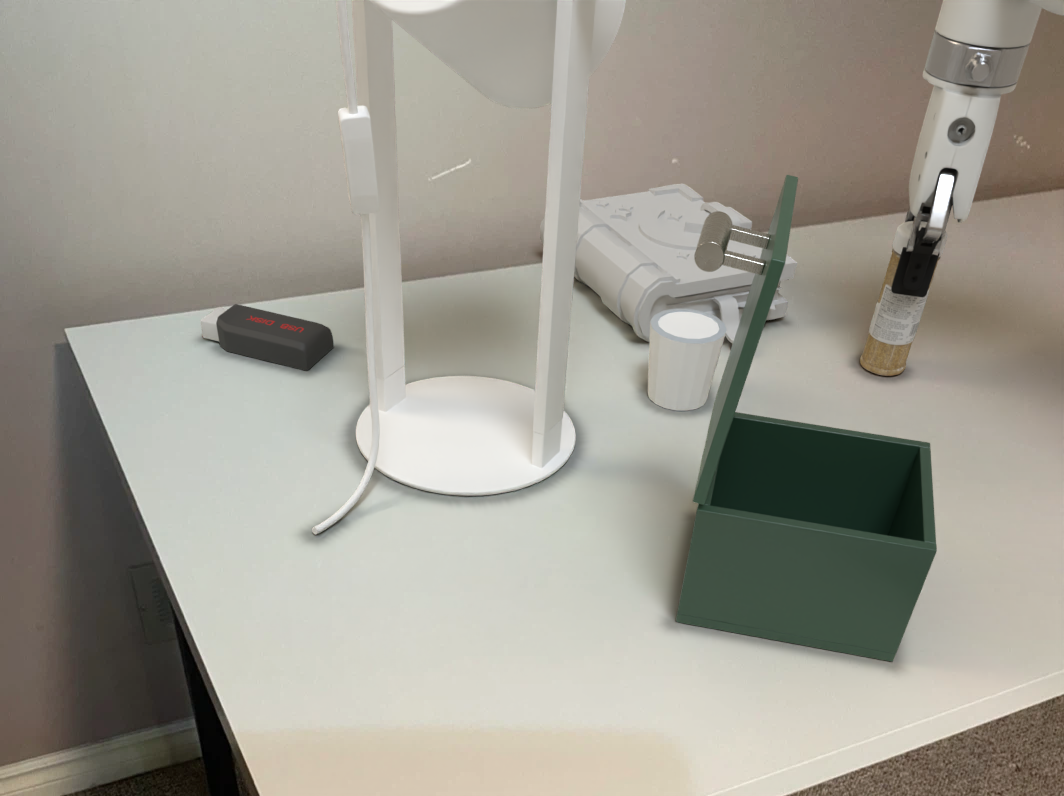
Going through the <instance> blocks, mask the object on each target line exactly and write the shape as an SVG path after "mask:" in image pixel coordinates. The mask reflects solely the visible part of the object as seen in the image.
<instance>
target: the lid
mask: <svg viewBox="0 0 1064 796" xmlns="http://www.w3.org/2000/svg"><path fill="white" fill-rule="evenodd" d="M798 183H799V177H798V176H795V175H790V174H786V175H785V177H784V181H783V184H782V187H781V191H780V193H779V196H778V200H777V203H776V206H775V209H774V213H773V215H772V219H771V223H770V225H769V228H768V231H767V233H766V232H762V231H759V230H755V229H752V228H751V229H747V228H743V227H739V226H735V225H732V220H731V218H730V217H729V215H727V214H726V213H724V212H721V211H716V212H713V213H711V214H709V215H708V216H707V218H706V219H705V221H704V224H703V228H702V231H701V234H700V238H699V241H698V244H697V247H696V251H695V254H694V260H695V263H696V265H697V267H698V268H699V269H701V270H702V271H705V272H713V271H716V270H717V269H719V268H720V267H721V266H722V265H723V266H727V267H731V268H735V269H739V270H743V271H747V272H751V273H755V275H754V278H753V282H752V285H751V288H750V291H749V294H748V297H747V300H746V304H745V307H744V310H743V313H742V316H741V319H740V321H739V326H738V329H737V332H736V335H735V338H734V341H733V344H731V348H730V351H729V355H728V358H727V361H726V363H725V367H724V371H723V374H722V376H721V380H720V382H719V386H718V389H717V392H716V396H715V398H714V401H713V405H712V411H711V415H710V419H709V425H708V429H707V434H706V439H705V443H704V448H703V453H702V456H701V461H700V464H699V465H700V466H699V469H698V475H697V479H696V483H695V488H694V494H693V496H692V497H693V498H692V503H694V504H697V505H698V504H702V505H704V504H705V501H706V498H707V495H708V492H709V489H710V486H711V483H712V480H713V477H714V474H715V471H716V468H717V465H718V462H719V459H720V456H721V453H722V450H723V447H724V444H725V441H726V438H727V435H728V432H729V429H730V426H731V423H732V420H733V417H734V414H735V412H737V409H738V406H739V403H740V399H741V395H742V393H743V391H744V388H745V385H746V381H747V380H748V379H747V378H748V375H749V373H750V369H751V367H752V365H753V364H752V363H753V360H754V358H755V354H756V353H757V348H758V346H759V342H760V340H761V337H762V334H763V331H764V327H765V326H766V325H765V324H766V321H767V320H766V319H767V316H768V313H769V310H770V307H771V304H772V301H773V298H774V295H775V292H776V289H777V286H778V283H779V280H780V277H781V274H782V271H783V268H784V265H785V261H786V255H788V254H787V253H788V248H789V241H790V237H791V236H790V235H791V229H792V222H793V215H794V209H795V203H796V196H797V190H798ZM729 240H732V241H736V242H740V243H744V244H747V245H751V246H755V247H759V248H763V250H762V253H761V256H760V259H759V258H755V257H751V256H747V255H743V254H739V253H735V252H732V251H728V250H727V247H728V243H729Z"/></svg>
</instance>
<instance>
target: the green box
mask: <svg viewBox="0 0 1064 796" xmlns="http://www.w3.org/2000/svg"><path fill="white" fill-rule="evenodd" d="M931 450H932V449H931V442H928V441H921V440H915V439H909V438H902V437H897V436H889V435H883V434H877V433H871V432H865V431H858V430H851V429H845V428H839V427H833V426H827V425H819V424H814V423H807V422H803V421H801V422H800V421H794V420H788V419H782V418H775V417H770V416H764V415H763V416H762V415H757V414H751V413H743V412H738V411H735V414H734V417H733V420H732V423H731V426H730V429H729V432H728V435H727V438H726V441H725V444H724V447H723V450H722V453H721V456H720V459H719V462H718V465H717V468H716V471H715V474H714V477H713V480H712V483H711V486H710V489H709V492H708V495H707V498H706V501H705V504H704V505H702V504H698V503H697V508H696V512H695V516H694V517H695V518H694V523H693V528H692V533H691V539H690V545H689V550H688V555H687V558H686V559H687V560H686V566H685V569H684V577H683V581H682V586H681V592H680V597H679V602H678V607H677V612H676V617H675V622H676V623H680V624H686V625H690V626H695V627H702V628H707V629H713V630H718V631H723V632H728V633H734V634H740V635H745V636H750V637H756V638H761V639H766V640H772V641H778V642H782V643H783V642H784V643H788V644H795V645H798V646H799V645H800V646H805V647H811V648H817V649H820V650H821V649H822V650H826V651H833V652H838V653H843V654H848V655H854V656H860V657H864V658H871V659H876V660H880V661H885V662H886V661H887V662H892V663H893V662H894V660H895V658H896V655H897V652H898V650H899V648H900V645H901V642H902V640H903V638H904V635H905V633H906V630H907V627H908V625H909V623H910V620H911V617H912V615H913V612H914V609H915V607H916V605H917V602H918V600H919V597H920V594H921V592H922V590H923V587H924V586H925V585H924V584H925V582H926V580H927V577H928V574H929V572H930V570H931V567H932V565H933V562H934V559H935V556H936V554H937V552H938V547H937V535H936V533H937V531H936V517H935V516H936V515H935V502H934V500H935V499H934V487H933V468H932V465H933V464H932V451H931Z"/></svg>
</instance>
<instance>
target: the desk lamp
mask: <svg viewBox="0 0 1064 796" xmlns="http://www.w3.org/2000/svg"><path fill="white" fill-rule="evenodd" d="M626 2H627V0H351V15H352V29H353V30H352V31H353V48H354V64H353V57H352V48H351V47H352V46H351V39H350V27H349V17H348V16H349V15H348V6H347V5H348V4H347V0H335V8H336V18H337V19H336V20H337V28H338V38H339V48H340V56H341V63H342V64H341V65H342V73H343V81H344V88H345V96H346V102H347V107H340V108H339V109H338V111H337V118H338V119H337V120H338V128H339V134H340V135H339V137H340V143H341V150H342V159H343V166H344V174H345V181H346V187H347V196H348V203H349V207H350V210H351V214H352V215H354V216H359V218H360V229H361V244H362V265H363V269H362V270H363V284H364V285H363V288H364V289H363V291H364V293H363V294H364V320H365V321H364V322H365V345H366V347H365V348H366V366H367V381H368V382H367V383H368V396H369V397H368V398H369V404H368V405H367V406H366V407H365V408H364V409H363V411H362V412H361V413H360V415H359V417H358V419H357V422H356V426H355V440H356V444H357V447H358V449H359V451H360V453H361V454H362V456H363V457H364V458H365V460H366V461H367V464H366V467H365V470H364V472H363V475H362V478H361V480H360V482H359V483H358V485H357V487H356V489H355V490H354V492H352V494H351V496H350V497H349V498H348V500H347V501H346V502H345V503H344V504H343V505H342V506H340V508H339V509H338V510H337V511H335V512H334V513H333V514H332V515H330V516H329V517H328V518H326V519H325V520H323V521H322V522H320V523H318V524H316V525H315V526H312V528H311V531H312V533H313V535H318V534H320V533H322V532H324V531H326V530H328V528H330V527H332V526H333V525H334V524H337V522H338V521H340V520H341V519H342V518H343V517H344V516H345V515H346V514H347V513H348V512H350V510H351V509H352V508H353V507H354V506H355V505H356V503H357V502H358V501H359V500H360V498H361V497H362V496H363V494H364V492H365V490H366V489H367V487H368V486H369V485H368V484H369V483H370V481H371V478H372V476H373V473H374V470H375V469H376V470H377V471H378V472H380V473H381V474H383V475H384V476H386V477H388V478H390V479H391V480H394V481H396V482H398V483H400V484H402V485H404V486H408V487H411V488H414V489H417V490H420V491H425V492H430V493H435V494H440V495H447V496H460V497H461V496H464V497H465V496H466V497H469V496H470V497H471V496H473V497H475V496H477V497H478V496H491V495H498V494H504V493H509V492H513V491H518V490H521V489H524V488H528V487H531V486H533V485H535V484H538V483H539V482H542V481H544V480H546V479H548V478H549V477H551V476H552V475H554V474H555V473H557V471H559V470H560V469H561V468H562V467H563V466H564V465H565V464H566V463H567V462H568V460H569V459H570V458H571V456H572V454H573V452H574V450H575V446H576V441H577V440H576V438H577V435H576V429H575V425H574V423H573V421H572V419H571V417H570V415H569V414H568V413H567V411H565V409H564V408H565V407H564V406H565V395H566V394H565V393H566V381H567V367H568V359H569V357H568V356H569V344H570V343H569V341H570V332H571V331H570V329H571V318H572V305H573V293H574V279H575V277H574V269H575V256H576V243H577V231H578V218H579V205H580V198H581V191H582V177H583V166H584V154H585V152H584V151H585V143H586V142H585V141H586V127H587V116H588V104H589V103H588V102H589V90H590V78H591V77H592V75H593V74H594V73H595V72H596V71H597V70H598V68H599V67H600V66H601V65H602V63H603V62H604V60H605V59H606V57H607V56H608V54H609V52H610V50H611V49H612V46H613V44H614V42H615V39H616V38H617V36H618V33H619V30H620V28H621V25H622V21H623V17H624V14H625V8H626V4H627V3H626ZM393 22H394V23H395V24H396V25H398V26H399V27H400V28H401V29H402V30H404V31H405V32H406V33H408V34H409V36H411V38H413V39H414V40H416V42H418V43H419V44H421V45H422V46H423V47H424V48H425V49H427V50H428V51H429V52H430V53H431V54H433V55H434V56H435V57H436V58H438V59H439V60H440V61H441V62H442V63H443V64H445V65H446V66H447V67H449V69H451V70H452V71H453V72H454V73H456V74H457V75H458V76H459V77H460V78H462V79H463V80H464V81H465V82H466V83H468V85H470V86H471V87H472V88H474V89H475V90H476V91H477V92H478V93H480V94H481V95H482V96H484V97H485V98H486V99H488V100H490V102H493V103H495V104H497V105H500V106H502V107H505V108H509V109H516V110H532V109H539V108H543V107H546V106H549V105H551V108H550V124H549V141H548V142H549V143H548V157H547V177H546V192H545V193H546V194H545V195H546V196H545V210H544V211H545V213H544V215H545V227H544V244H542V247H543V248H542V264H541V282H540V300H539V316H538V331H537V332H538V334H537V351H536V352H537V353H536V370H535V387H534V389H533V388H530V387H528V386H525V385H522V384H519V383H516V382H513V381H509V380H504V379H498V378H495V377H486V376H479V375H478V376H475V375H447V376H446V375H445V376H436V377H431V378H424V379H420V380H416V381H415V380H414V381H411V382H408V383H406V367H405V365H406V355H405V334H404V333H405V329H404V328H405V325H404V305H403V304H404V300H403V299H404V298H403V276H402V275H403V274H402V250H401V249H402V247H401V223H400V221H401V219H400V218H401V217H400V194H399V193H400V192H399V165H398V143H397V141H398V140H397V139H398V138H397V115H396V112H397V111H396V87H395V62H394V61H395V60H394V59H395V57H394V35H393V34H394V33H393V31H394V30H393ZM353 65H355V74H354V66H353ZM355 81H356V82H355Z"/></svg>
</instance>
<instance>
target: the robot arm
mask: <svg viewBox="0 0 1064 796" xmlns="http://www.w3.org/2000/svg"><path fill="white" fill-rule="evenodd" d="M1043 10H1045V11H1047V12H1049V13H1052V14H1055V15H1058V16H1063V17H1064V0H942V3H941V6H940V10H939V14H938V17H937V20H936V25H935V28H934V31H933V35H932V38H931V42H930V46H929V49H928V53H927V56H926V61H925V64H924V67H923V70H922V71H923V72H922V76H921V77H922V78H923V79H924V81H926V82H927V83H928V84H930V85H933V87H932V91H931V93H930V97H929V100H928V104H927V108H926V111H925V114H924V118H923V122H922V125H921V128H920V132H919V136H918V140H917V144H916V147H915V153H914V157H913V160H912V165H911V170H910V174H909V179H908V180H909V181H908V201H909V206H908V208H907V212H906V215H905V220H904V222H909V221H913V225H912V228H911V232H910V236H909V240H908V243H907V247H903V249H902V252H901V256H900V259H899V262H898V266H897V269H896V273H895V276H894V279H893V283H892V286H891V291H892V293H894V294H901V295H909V296H916V297H925V296H926V295H927V292H928V289H929V286H930V283H931V284H932V282H931V279H932V276H933V273H934V274H935V272H934V270H935V267H936V264H937V265H938V263H937V261H938V258H939V254H940V253H939V251H940V247H941V244H942V240H943V237H944V233H945V231H946V230H947V225H948V223H949V219H950V215H951V211H952V212H953V219H954V220H957V223H959V224H962V223H964V222H965V221H967V220H968V218H969V215H970V213H971V212H970V211H971V208H972V205H973V202H974V198H975V195H976V191H977V187H978V185H979V181H980V177H981V174H982V171H983V168H984V164H985V161H986V157H987V153H988V150H989V147H990V143H991V140H992V136H993V132H994V128H995V125H996V120H997V117H998V112H999V109H1000V103H1001V100H1002V95H1006V94H1009V93H1013V92H1014V91H1015V89H1016V87H1017V84H1018V81H1019V79H1020V76H1021V71H1022V69H1023V66H1024V63H1025V60H1026V58H1027V55H1028V52H1029V49H1030V45H1031V42H1032V39H1033V36H1034V33H1035V31H1036V29H1037V28H1036V27H1037V25H1038V22H1039V19H1040V15H1041V12H1042V11H1043ZM921 221H922V222H927V224H926V227H921V229H920V231H919V227H920V224H921ZM938 262H939V261H938ZM936 268H937V267H936ZM935 271H936V270H935ZM933 277H934V276H933ZM930 287H931V286H930Z"/></svg>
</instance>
